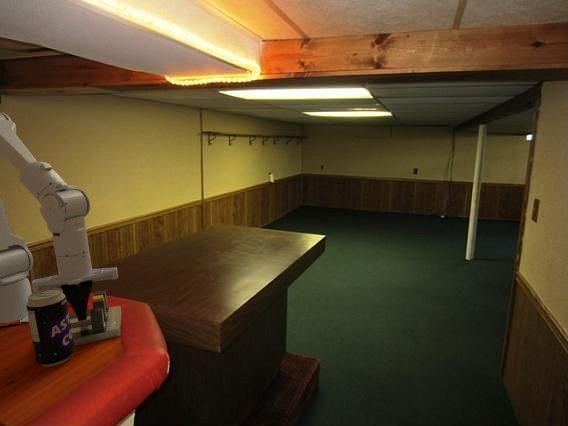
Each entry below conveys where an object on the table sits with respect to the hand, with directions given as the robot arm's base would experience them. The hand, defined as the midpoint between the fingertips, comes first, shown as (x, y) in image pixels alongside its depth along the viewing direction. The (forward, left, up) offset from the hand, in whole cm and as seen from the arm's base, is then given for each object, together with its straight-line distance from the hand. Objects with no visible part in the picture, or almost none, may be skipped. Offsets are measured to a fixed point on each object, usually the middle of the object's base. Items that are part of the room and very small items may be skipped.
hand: (82, 318), depth 75 cm
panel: (0, 0, -2) cm, 3 cm away
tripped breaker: (0, +3, -1) cm, 3 cm away
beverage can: (+10, -3, -3) cm, 11 cm away
